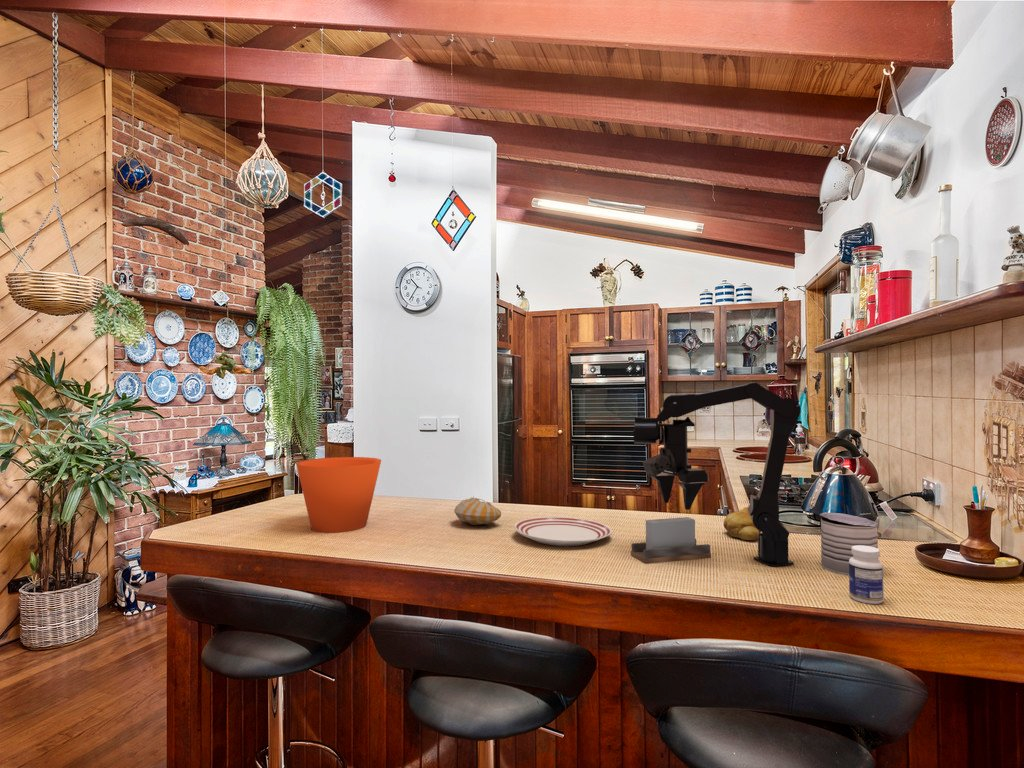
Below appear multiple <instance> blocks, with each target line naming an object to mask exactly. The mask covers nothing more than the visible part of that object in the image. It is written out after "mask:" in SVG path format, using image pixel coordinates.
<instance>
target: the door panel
mask: <svg viewBox="0 0 1024 768" xmlns="http://www.w3.org/2000/svg"><path fill="white" fill-rule="evenodd" d="M695 539H696V519H694V518H691V517H688V516H687V517H686V516H685V517H673V518H672V517H670V518H659V519H657V518H656V519H646V520H645V542H646V549H658V548H669V547H681V546H692V545H695Z"/></svg>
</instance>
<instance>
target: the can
mask: <svg viewBox="0 0 1024 768" xmlns="http://www.w3.org/2000/svg"><path fill="white" fill-rule="evenodd" d="M818 515H819V516H821V517H820V543H821V544H820V546H821V547H820V548H821V549H820V550H821V551H820V554H821V556H820V558H821V561H820V562H821V563H820V564H821V567H822V568H823V569H824V570H827V571H829V572H832V573H835V574H837V575H838V574H839V575H843V576H844V575H845V576H849V560H850V558H851V557H853V554H852V552H851V549H852V546H856V545H864V546H871V547H875V548H877V549H879V544H878V543H879V542H878V541H879V540H878V537H879V536H878V525H879V523H878V522H876V521H873V520H871V519H868V518H865V517H861V516H857V515H851V514H846V513H838V512H837V513H836V512H822V513H820V514H818Z"/></svg>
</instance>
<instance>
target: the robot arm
mask: <svg viewBox="0 0 1024 768" xmlns="http://www.w3.org/2000/svg"><path fill="white" fill-rule="evenodd" d="M749 399H751V400H752V401H754V402H755V403H756V404H759V405H760V406H762V407H764V408H765V409H766V410H769V426H770V437H769V442H768V446H767V448H768V449H767V451H766V452H767V453H766V457H765V462H764V468H763V473H762V478H761V484H760V488H759V490H758V492H757V494H756V495H753V494H750V497H749V500H750V501H749V506H747V507H748V509H747V510H748V512H749V514H750V518H751V520H752V522H753V524H754V526H755V527H756V528H757V529H758V530H760V531H761V533H759V536H758V538H757V555H758V556H753V560H755V561H758V562H760V563H762V564H764V565H767V566H770V567H780V566H791V565H795V561H793V560H790V559H789V536H790V532H789V530H788V529H787V527H786V526H785V525H784V524H783V522H782V521H780V508H779V507H780V506H779V505H780V503H779V491H780V486H781V485H780V484H781V481H782V475H783V470H784V467H785V466H784V465H785V460H786V455H787V451H788V445H789V439H790V437H791V435H792V433H793V431H794V429H795V428H796V425H797V423H798V421H799V418H800V415H801V410H802V409H801V406H800V404H799V403H798V401H797V400H796V399H793V398H791V397H782V396H780V395H778V394H776V393H775V392H773V391H771V390H769V389H767V388H765V387H763V386H762V385H761V384H760V383H758V382H756V381H753V382H751V381H750V382H747V383H745V384H740V385H737V386H731V387H728V388H727V387H726V388H721V389H717V390H712V391H706V392H701V393H691V394H690V393H684V394H683V393H682V394H681V393H680V394H678V393H677V394H671V395H668V396H666V398H665V399H664V401H663V403H662V404H663V405H662V408H663V409H662V410H661V411H660V412H659V413H658V414H657V417H641V416H635V417H634V427H633V443H634V444H653V445H654V444H655V445H657V443H658V441H662V427H663V447H660V448H659V454H657V455H654V456H651V457H649V458H647V459H645V460H643V461H642V465H643V467H644V470H645V471H644V472H645V473H646V475H649V476H650V478H652V479H654V481H656V482H657V486H658V488H659V490H660V491H659V492H660V494H661V497H662V499H663V500H662V501H663V503H664V504H669V501H670V499H671V495H672V490H673V486H674V485H673V484H674V481H675V477H677V478H678V480H679V481H678V482H677V484H678V485H679V486H680V487H681V488H682V494H683V495H682V497H683V505H684V509H685V510H686V511H689V510H691V508H692V506H693V503H694V501H695V499H696V497H697V496H698V493H699V492H700V490H701V489H702V487H703V486H705V485H706V483H708V482H709V472H708V471H706V469H701V468H693V467H692V464H689V460H688V459H689V458H688V456H689V454H691V453H692V448H691V447H688V427H695V425H696V424H695V422H693V421H692V419H691V418H690V417H689V416H686V418H685V419H672V423H664V422H666V421H667V420H669V419H671V418H679V417H680V418H681V417H682V416H685V415H687V414H690V413H693V412H696V411H698V410H700V409H704V408H709V407H714V406H720V405H725V404H729V403H734V402H738V401H744V400H749ZM661 422H663V423H661Z"/></svg>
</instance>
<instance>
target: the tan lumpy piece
mask: <svg viewBox="0 0 1024 768" xmlns="http://www.w3.org/2000/svg"><path fill="white" fill-rule="evenodd" d="M748 507H749V506H747V507H743V508H742V509H740V510H739V511H734V512H730V513H727V515H726V516H725V518H724V520H723V527H724V530H726V531H727V532H728V534H729V535H730V536H731V537H734V538H737V539H738V538H739V539H741V540H745V541H755V540H758V539H759V533H762V532H761V531H760V530H758V529H757V528H756V527H755V526H754V524H753V522H752V520H751V518H750V514H749V512H748V510H747V509H748Z"/></svg>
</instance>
